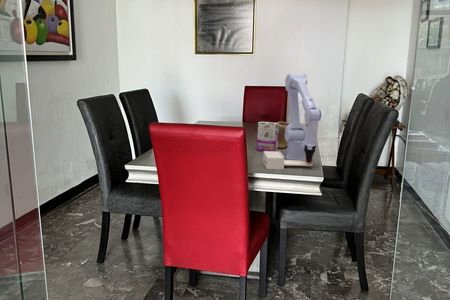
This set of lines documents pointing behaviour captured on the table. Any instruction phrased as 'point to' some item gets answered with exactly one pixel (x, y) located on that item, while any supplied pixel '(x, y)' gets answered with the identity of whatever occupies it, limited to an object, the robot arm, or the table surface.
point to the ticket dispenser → (273, 160)
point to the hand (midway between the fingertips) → (308, 161)
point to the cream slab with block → (297, 163)
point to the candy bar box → (267, 136)
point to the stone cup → (282, 135)
